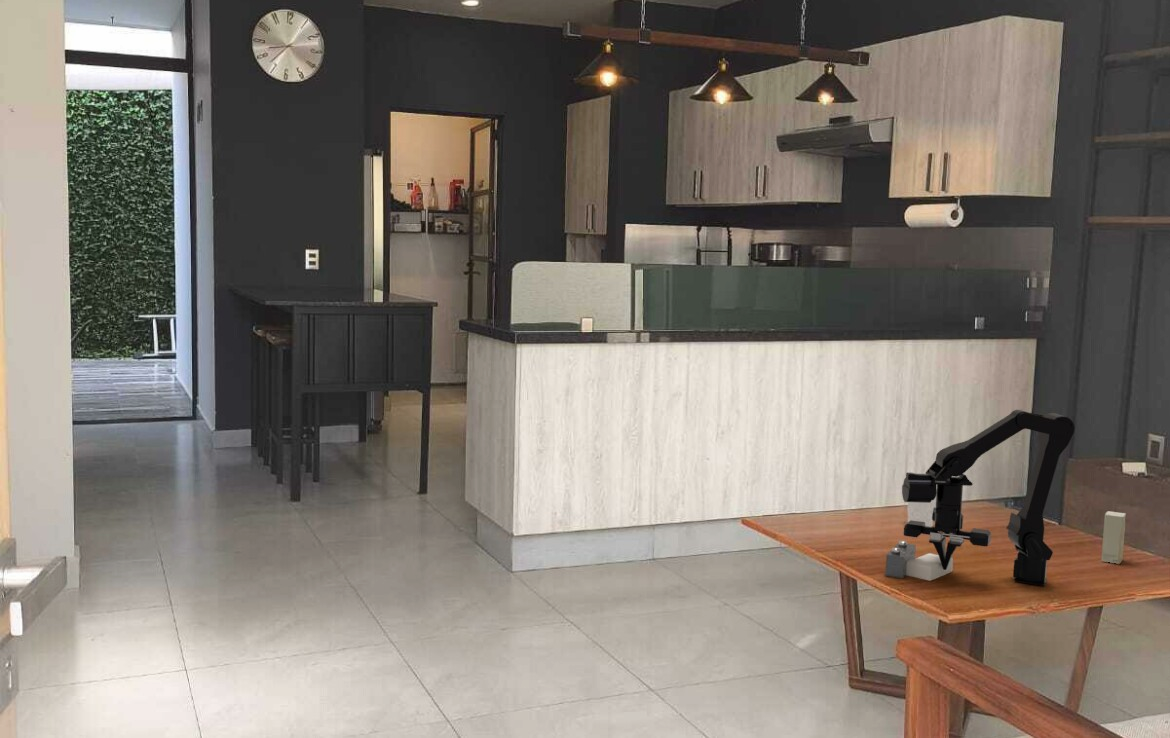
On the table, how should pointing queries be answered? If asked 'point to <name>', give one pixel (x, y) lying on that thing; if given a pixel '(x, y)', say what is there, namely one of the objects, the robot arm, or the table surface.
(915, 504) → the white cup
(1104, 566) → the table surface
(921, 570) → the white rectangular block
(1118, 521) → the skincare box
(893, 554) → the stop bar
